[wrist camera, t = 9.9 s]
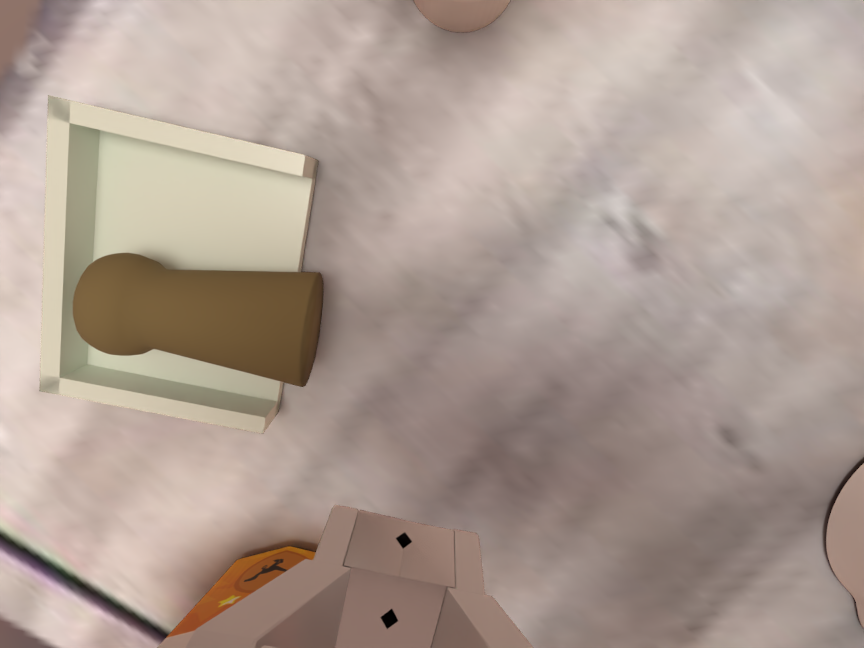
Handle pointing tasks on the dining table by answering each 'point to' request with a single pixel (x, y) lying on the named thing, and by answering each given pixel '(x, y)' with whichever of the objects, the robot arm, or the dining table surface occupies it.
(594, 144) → the dining table surface
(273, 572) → the bucket of meat
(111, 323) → the brown chess pawn
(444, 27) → the salt shaker
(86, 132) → the tray
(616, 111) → the dining table surface
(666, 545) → the dining table surface
